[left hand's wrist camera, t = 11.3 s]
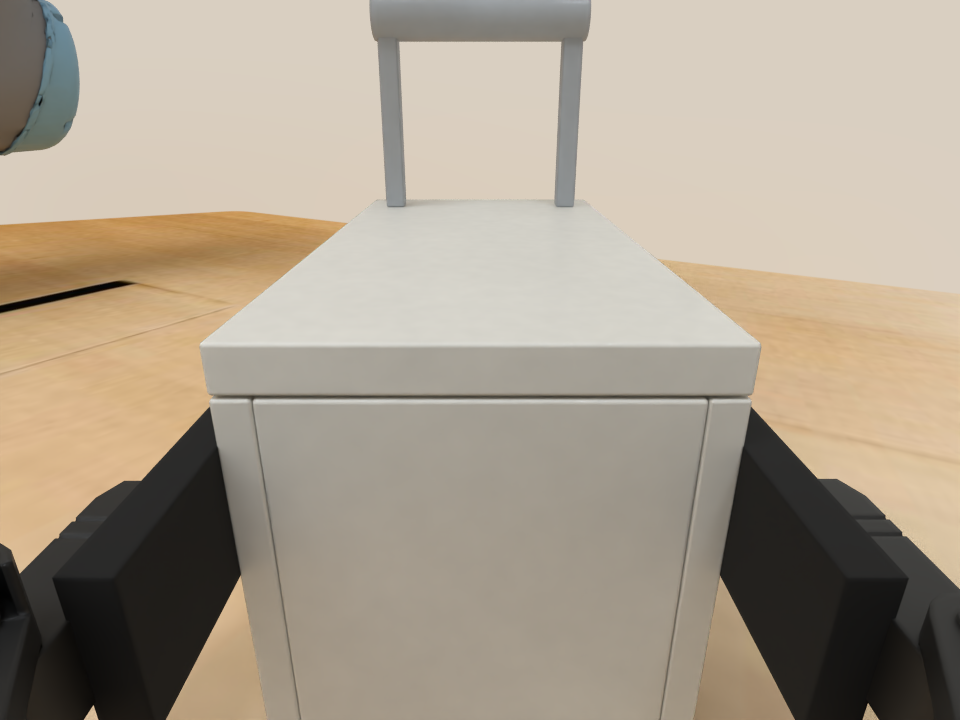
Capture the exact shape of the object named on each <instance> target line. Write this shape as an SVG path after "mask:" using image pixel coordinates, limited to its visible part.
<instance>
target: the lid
mask: <svg viewBox="0 0 960 720" xmlns="http://www.w3.org/2000/svg"><path fill="white" fill-rule="evenodd" d="M590 18H591V0H370V21H371V29H372V34H373V37H374V40H375V41H377V42H378V57H379V76H380V94H381V112H382V130H383V148H384V166H385V184H386V200H376V201H375V202H373V203H372V204H371V205H370V206H369V207H367V208H366V209H365V210H364V211H362V212H361V213H360V214H359V215H357V216H356V217H355V218H354V219H353V220H351V221H350V222H349V223H348V224H346V225H345V226H344V227H343V228H341V229H340V230H339V231H338V232H336V233H335V234H334V235H333V236H332V237H330V238H329V239H328V240H327V241H325V242H324V243H323V244H322V245H320V246H319V247H318V248H317V249H316V250H314V251H313V252H312V253H311V254H309V255H308V256H307V257H306V258H304V259H303V260H302V261H301V262H300V263H298V264H297V265H296V266H295V267H293V268H292V269H291V270H290V271H288V272H287V273H286V274H285V275H283V276H282V277H281V278H280V279H279V280H277V281H276V282H275V283H274V284H272V285H271V286H270V287H269V288H267V289H266V290H265V291H264V292H263V293H261V294H260V295H259V296H258V297H256V298H255V299H254V300H253V301H251V302H250V303H249V304H248V305H247V306H245V307H244V308H243V309H242V310H240V311H239V312H238V313H237V314H235V315H234V316H233V317H232V318H231V319H229V320H228V321H227V322H226V323H224V324H223V325H222V326H221V327H219V328H218V329H217V330H216V331H215V332H213V333H212V334H211V335H210V336H208V337H207V338H206V339H205V340H203V341H202V342H201V343H200V353H201V358H202V364H203V369H204V375H205V380H206V386H207V391H208V393H209V395H337V396H749V395H752V393H753V390H754V385H755V379H756V374H757V368H758V363H759V357H760V352H761V344H760V342H759V341H757V340H756V339H755V338H754V337H752V336H751V335H750V334H749V333H747V332H746V331H745V330H744V329H743V328H741V327H740V326H739V325H738V324H736V323H735V322H734V321H733V320H731V319H730V318H729V317H728V316H726V315H725V314H724V313H723V312H722V311H720V310H719V309H718V308H717V307H715V306H714V305H713V304H712V303H710V302H709V301H708V300H707V299H706V298H704V297H703V296H702V295H701V294H699V293H698V292H697V291H696V290H694V289H693V288H692V287H691V286H689V285H688V284H687V283H686V282H685V281H683V280H682V279H681V278H680V277H678V276H677V275H676V274H675V273H673V272H672V271H671V270H670V269H669V268H667V267H666V266H665V265H664V264H662V263H661V262H660V261H659V260H657V259H656V258H655V257H654V256H652V255H651V254H650V253H649V252H647V251H646V250H645V249H644V248H643V247H641V246H640V245H639V244H638V243H636V242H635V241H634V240H633V239H632V238H630V237H629V236H628V235H627V234H625V233H624V232H623V231H622V230H620V229H619V228H618V227H617V226H615V225H614V224H613V223H612V222H611V221H609V220H608V219H607V218H606V217H604V216H603V215H602V214H601V213H599V212H598V211H597V210H596V209H594V208H593V207H592V206H591V205H590V204H588V203H587V202H586V201H585V200H574V195H575V177H576V159H577V141H578V123H579V105H580V88H581V70H582V52H583V41H585V40H586V39H587V36H588V32H589V27H590ZM400 41H401V42H402V41H404V42H407V41H409V42H418V41H419V42H423V41H425V42H451V41H452V42H465V41H466V42H485V41H486V42H490V41H491V42H500V41H501V42H503V41H504V42H509V41H510V42H515V41H517V42H523V41H524V42H547V41H548V42H562V44H561V65H560V88H559V110H558V133H557V156H556V179H555V200H406V188H405V165H404V142H403V119H402V97H401V74H400V51H399V42H400Z"/></svg>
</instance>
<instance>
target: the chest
mask: <svg viewBox="0 0 960 720" xmlns="http://www.w3.org/2000/svg"><path fill="white" fill-rule="evenodd" d="M209 404H210V409H211V415H212V420H213V426H214V431H215V437H216V442H217V446H218V451H219V457H220V462H221V468H222V473H223V479H224V484H225V490H226V495H227V501H228V506H229V512H230V517H231V523H232V528H233V534H234V539H235V544H236V550H237V555H238V561H239V566H240V572H241V579H242V585H243V590H244V596H245V601H246V607H247V612H248V617H249V623H250V628H251V634H252V639H253V645H254V650H255V656H256V661H257V667H258V672H259V678H260V683H261V689H262V694H263V700H264V705H265V711H266V716H267V720H694V714H695V709H696V704H697V698H698V693H699V687H700V682H701V676H702V671H703V665H704V660H705V655H706V649H707V644H708V638H709V633H710V627H711V622H712V616H713V611H714V605H715V600H716V595H717V589H718V584H719V578H720V571H721V565H722V560H723V554H724V549H725V543H726V538H727V533H728V527H729V522H730V516H731V511H732V505H733V500H734V494H735V489H736V483H737V478H738V473H739V467H740V462H741V456H742V451H743V447H744V442H745V436H746V431H747V426H748V420H749V415H750V409H751V404H752V402H751V399H750V398H749V397H748V396H337V395H214V396H213V397H212V398H211V399H210V402H209Z"/></svg>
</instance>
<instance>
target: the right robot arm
mask: <svg viewBox="0 0 960 720" xmlns="http://www.w3.org/2000/svg"><path fill="white" fill-rule="evenodd" d="M78 100H79V68H78V60H77V54H76V49H75V45H74V41H73V38H72V35H71V33H70V31H69V28H68V26H67V25H66V24H64V23H63V17H62V15H61V14H60V12H59V11H58V10H57V8H56V7H55V6H54V5H52V4H51V3H50V2H48V1H45V0H0V155H4V156H5V155H8V154H10V153H12V152H22V151H34V150H43V149H47V148H50V147H52V146H55V145H56V144H58V143H59V142H60V141H61V140H62V139H63V138H64V137H65V136H66V135H67V133H68V131H69V130H70V128H71V126H72V122H73V118H74V117H75V115H76V111H77V106H78Z"/></svg>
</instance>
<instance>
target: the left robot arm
mask: <svg viewBox="0 0 960 720" xmlns="http://www.w3.org/2000/svg"><path fill="white" fill-rule="evenodd" d="M59 535H60V536H59V539H54V540H53V541H52V542H51V543H50V544H49V545H48V546H47V547H46V548H45V549H44V550H43V551H42V552H41V553H40V554H39V555H38V556H37V557H36V558H35V559H34V560H33V561H32V562H31V563H30V564H29V565H28V566H27V567H26V568H25V569H24V570H23V571H22V572H21V573H20V574H19V571H18V568H17V565H16V563H15V560H14V557H13V554H12V551H11V550H10V549H9V548H7V547H5V546H4V545H2V544H1V543H0V720H84V718H85V717H86V715H87V714H88V712H89V711H90V709H91V708H92V706H93V705H94V707H95V710H96V713H97V717H98V720H166V718H167V716H168V714H169V712H170V710H171V708H172V707H173V705H174V703H175V701H176V699H177V697H178V695H179V693H180V691H181V689H182V687H183V685H184V683H185V681H186V680H187V678H188V676H189V674H190V672H191V670H192V668H193V666H194V664H195V662H196V660H197V658H198V656H199V654H200V653H201V651H202V649H203V647H204V645H205V643H206V641H207V639H208V637H209V635H210V633H211V631H212V629H213V627H214V625H215V624H216V622H217V620H218V618H219V616H220V614H221V612H222V610H223V608H224V606H225V604H226V602H227V600H228V598H229V597H230V595H231V593H232V591H233V589H234V587H235V585H236V583H237V581H238V579H239V577H240V575H241V572H240V566H239V561H238V555H237V550H236V544H235V539H234V534H233V528H232V523H231V517H230V512H229V506H228V501H227V495H226V490H225V484H224V479H223V473H222V468H221V462H220V457H219V451H218V446H217V442H216V437H215V431H214V426H213V420H212V415H211V409H210V407H209V408H208V409H207V410H206V411H205V412H204V413H203V415H202V416H201V417H200V418H199V419H198V420H197V421H196V422H195V423H194V424H193V425H192V426H191V428H190V429H189V430H188V431H187V432H186V433H185V434H184V435H183V436H182V437H181V438H180V439H179V441H178V442H177V443H176V444H175V445H174V446H173V447H172V448H171V449H170V450H169V451H168V452H167V454H166V455H165V456H164V457H163V458H162V459H161V460H160V461H159V462H158V463H157V464H156V465H155V467H154V468H153V469H152V470H151V471H150V472H149V473H148V474H147V475H146V476H145V477H144V478H143V480H142V481H123V482H122V483H120V484H118V485H117V486H115V487H113V488H112V489H110V490H108V491H107V492H105V493H103V494H101V495H100V496H98V497H96V498H95V499H94V500H93V501H92V502H91V503H90V504H89V505H88V506H87V507H86V508H85V509H84V510H83V511H82V512H81V513H80V514H79V515H78V516H77V517H76V521H75V522H71V523H70V524H69V525H68V526H67V527H66V528H65V529H64V530H63V531H62V532H61V533H60V534H59ZM720 576H721V578H722V580H723V582H724V584H725V586H726V588H727V589H728V591H729V593H730V595H731V597H732V599H733V601H734V603H735V605H736V607H737V609H738V611H739V613H740V615H741V616H742V618H743V620H744V622H745V624H746V626H747V628H748V630H749V632H750V634H751V636H752V638H753V640H754V642H755V643H756V645H757V647H758V649H759V651H760V653H761V655H762V657H763V659H764V661H765V663H766V665H767V667H768V669H769V670H770V672H771V674H772V676H773V678H774V680H775V682H776V684H777V686H778V688H779V690H780V692H781V694H782V696H783V697H784V699H785V701H786V703H787V705H788V707H789V709H790V711H791V713H792V715H793V717H794V719H795V720H862V719H863V716H864V713H865V710H866V707H867V704H868V703H869V705H870V706H871V708H872V709H873V711H874V713H875V714H876V716H877V717H878V719H879V720H960V589H959V588H958V587H957V586H956V585H955V584H954V583H953V582H952V581H951V580H950V579H949V578H948V577H947V576H946V575H945V574H944V573H943V572H942V571H941V570H940V569H939V568H938V567H937V566H936V565H935V564H934V563H933V562H932V561H931V560H930V559H929V558H928V557H927V556H926V555H925V554H924V553H923V552H922V551H921V550H920V549H919V548H918V547H917V546H916V545H915V544H914V543H913V542H912V541H910V540H909V539H908V538H907V537H906V536H902V532H901V531H900V530H899V529H898V528H897V527H896V526H895V525H894V524H893V523H892V522H891V521H890V520H886V518H885V515H884V514H883V513H882V512H881V511H880V510H879V509H878V508H877V507H876V506H875V505H874V504H873V503H872V502H871V501H870V500H869V499H868V498H867V497H866V496H865V495H863V494H861V493H860V492H858V491H856V490H855V489H853V488H851V487H850V486H848V485H846V484H845V483H843V482H841V481H839V480H838V479H817V478H816V477H815V475H814V474H813V473H812V472H811V471H810V470H809V469H808V468H807V467H806V466H805V465H804V464H803V462H802V461H801V460H800V459H799V458H798V457H797V456H796V455H795V454H794V453H793V452H792V451H791V449H790V448H789V447H788V446H787V445H786V444H785V443H784V442H783V441H782V440H781V439H780V438H779V436H778V435H777V434H776V433H775V432H774V431H773V430H772V429H771V428H770V427H769V426H768V425H767V423H766V422H765V421H764V420H763V419H762V418H761V417H760V416H759V415H758V414H757V413H756V412H755V410H754V409H753V408H752V407H751V409H750V415H749V420H748V426H747V431H746V436H745V442H744V447H743V451H742V456H741V462H740V467H739V473H738V478H737V483H736V489H735V494H734V500H733V505H732V511H731V516H730V522H729V527H728V533H727V538H726V543H725V549H724V554H723V560H722V565H721V571H720Z"/></svg>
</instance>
